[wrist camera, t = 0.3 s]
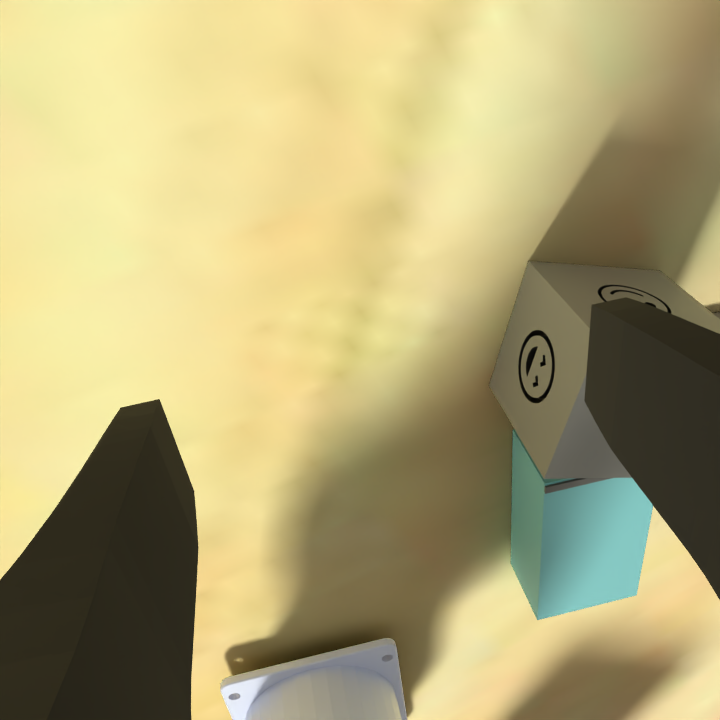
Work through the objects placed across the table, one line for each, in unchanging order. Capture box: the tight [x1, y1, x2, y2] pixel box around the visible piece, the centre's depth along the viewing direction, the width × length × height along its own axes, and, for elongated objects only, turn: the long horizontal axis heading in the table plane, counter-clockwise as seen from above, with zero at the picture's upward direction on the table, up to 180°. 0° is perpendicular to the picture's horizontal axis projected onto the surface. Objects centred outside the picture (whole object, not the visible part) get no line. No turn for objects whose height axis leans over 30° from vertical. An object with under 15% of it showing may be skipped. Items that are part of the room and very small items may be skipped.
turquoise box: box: [511, 429, 653, 620], centre depth 28 cm, size 8×4×3 cm, turn 7°
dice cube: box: [489, 261, 720, 479], centre depth 22 cm, size 5×5×5 cm
